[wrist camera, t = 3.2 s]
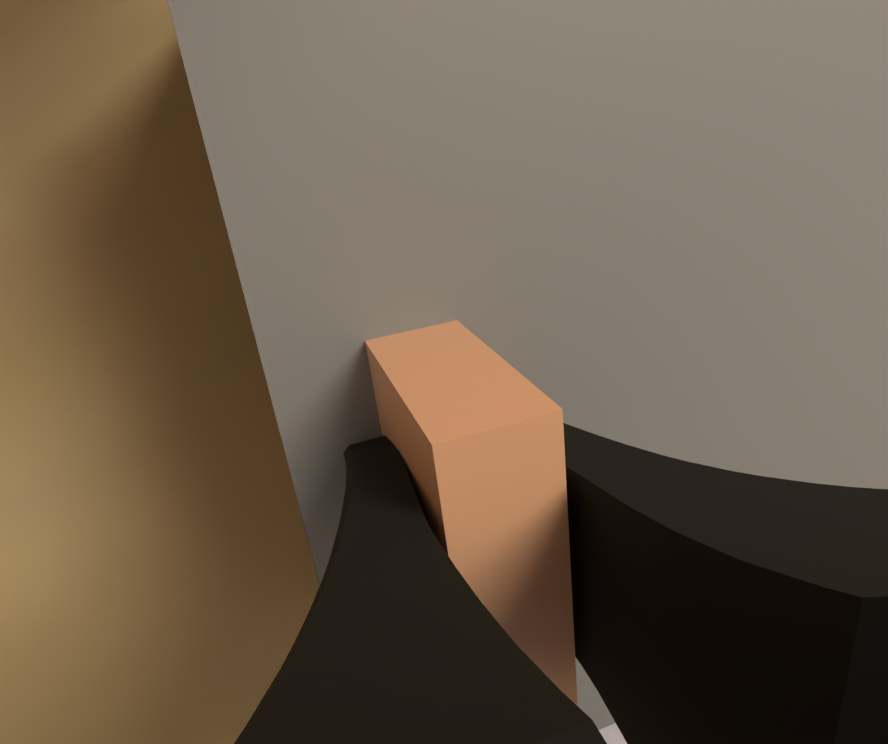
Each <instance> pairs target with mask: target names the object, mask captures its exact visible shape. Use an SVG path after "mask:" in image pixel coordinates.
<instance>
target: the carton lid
mask: <svg viewBox="0 0 888 744" xmlns="http://www.w3.org/2000/svg"><path fill="white" fill-rule="evenodd" d="M167 2H168V6H169V10H170V14H171V18H172V21H173V25H174V29H175V33H176V37H177V41H178V44H179V48H180V52H181V56H182V60H183V64H184V67H185V71H186V75H187V79H188V83H189V87H190V90H191V94H192V98H193V102H194V106H195V110H196V113H197V117H198V121H199V125H200V129H201V133H202V136H203V140H204V144H205V148H206V152H207V156H208V159H209V163H210V167H211V171H212V175H213V179H214V182H215V186H216V190H217V194H218V198H219V202H220V205H221V209H222V213H223V217H224V221H225V225H226V228H227V232H228V236H229V240H230V244H231V248H232V251H233V255H234V259H235V263H236V267H237V271H238V274H239V278H240V282H241V286H242V290H243V294H244V297H245V301H246V305H247V309H248V313H249V317H250V320H251V324H252V328H253V332H254V336H255V340H256V343H257V347H258V351H259V355H260V359H261V363H262V366H263V370H264V374H265V378H266V382H267V386H268V389H269V393H270V397H271V401H272V405H273V409H274V412H275V416H276V420H277V424H278V428H279V432H280V435H281V439H282V443H283V447H284V451H285V455H286V458H287V462H288V466H289V470H290V474H291V478H292V481H293V485H294V489H295V493H296V497H297V501H298V504H299V508H300V512H301V516H302V520H303V524H304V527H305V531H306V535H307V539H308V543H309V547H310V550H311V554H312V558H313V562H314V566H315V570H316V573H317V577H318V581H319V585H320V584H321V582H322V579H323V576H324V573H325V571H326V568H327V565H328V562H329V559H330V555H331V552H332V548H333V544H334V541H335V537H336V533H337V530H338V526H339V522H340V517H341V512H342V506H343V500H344V494H345V486H346V463H345V458H344V454H343V453H344V451H345V450H346V449H347V447H348V446H349V445H351V444H355V443H359V442H362V441H366V440H370V439H374V438H378V437H381V436H386V437H387V438H388V439H389V440H390V441H391V442H392V443H393V444H394V445H395V447H396V448H397V449H398V450H399V452H400V454H401V457H402V459H403V462H404V464H405V467H406V470H407V472H408V475H409V477H410V480H411V483H412V485H413V488H414V490H415V493H416V496H417V498H418V501H419V503H420V506H421V509H422V511H423V514H424V516H425V518H426V520H427V522H428V524H429V526H430V528H431V530H432V532H433V533H434V535H435V537H436V538H437V540H438V541H439V543H440V544H441V546H442V547H443V549H444V550H445V552H446V553H447V555H448V556H449V558H450V559H451V561H452V562H453V564H454V565H455V567H456V568H457V570H458V571H459V572H460V574H461V575H462V576H463V578H464V579H465V581H466V582H467V583H468V585H469V586H470V587H471V589H472V590H473V592H474V593H475V594H476V596H477V597H478V598H479V600H480V601H481V602H482V604H483V605H484V606H485V607H486V608H487V610H488V611H489V612H490V613H491V614H492V616H493V617H494V618H495V619H496V620H497V622H498V623H499V624H500V625H501V627H502V628H503V629H504V630H505V631H506V633H507V634H508V635H509V636H510V637H511V639H512V640H513V641H514V642H515V643H516V644H517V645H518V647H519V648H520V649H521V650H522V651H523V652H524V653H525V654H526V655H527V656H528V657H529V658H530V659H531V660H532V661H533V662H534V663H535V664H536V665H537V666H538V667H539V668H540V669H541V670H542V672H543V673H544V674H545V675H546V676H547V677H548V678H549V679H550V680H551V681H552V682H553V683H554V684H555V685H556V686H557V687H558V688H559V689H560V690H561V691H562V692H563V693H564V694H565V695H566V696H567V697H568V698H569V699H570V700H572V701H573V702H574V703H575V704H576V705H577V706H578V707H579V708H580V709H581V710H582V711H583V712H585V713H586V714H587V715H588V716H589V717H590V718H591V719H592V720H593V722H594V723H595V725H596V727H597V728H598V730H600V729H603V728H605V727H607V726H610V725H612V724H615V721H614V719H613V717H612V716H611V714H610V712H609V710H608V708H607V707H606V705H605V703H604V701H603V699H602V698H601V696H600V694H599V692H598V691H597V689H596V687H595V686H594V684H593V683H592V681H591V680H590V678H589V676H588V675H587V673H586V672H585V670H584V669H583V667H582V666H581V664H580V663H579V661H578V660H577V658H576V657H575V641H574V622H573V602H572V583H571V563H570V543H569V524H568V504H567V484H566V465H565V445H564V426H563V423H565V424H568V425H571V426H573V427H576V428H579V429H582V430H585V431H587V432H590V433H593V434H596V435H599V436H602V437H605V438H608V439H611V440H614V441H617V442H620V443H623V444H626V445H630V446H633V447H636V448H640V449H643V450H647V451H650V452H653V453H657V454H660V455H664V456H668V457H672V458H676V459H680V460H683V461H688V462H692V463H697V464H702V465H706V466H711V467H716V468H720V469H725V470H730V471H735V472H741V473H747V474H752V475H758V476H765V477H772V478H779V479H787V480H794V481H801V482H808V483H817V484H827V485H837V486H847V487H859V488H874V489H888V0H167Z"/></svg>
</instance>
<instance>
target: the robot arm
mask: <svg viewBox="0 0 888 744" xmlns="http://www.w3.org/2000/svg"><path fill="white" fill-rule="evenodd" d="M563 426H564V445H565V465H566V484H567V504H568V524H569V543H570V563H571V583H572V602H573V622H574V641H575V657H576V658H577V660H578V661H579V663H580V664H581V666H582V667H583V669H584V670H585V672H586V673H587V675H588V676H589V678H590V680H591V681H592V683H593V684H594V686H595V687H596V689H597V691H598V692H599V694H600V696H601V698H602V699H603V701H604V703H605V705H606V707H607V708H608V710H609V712H610V714H611V716H612V717H613V719H614V721H615V724H612V725H610V726H607V727H605V728H603V729H600V730H598V728H597V727H596V725H595V723H594V722H593V720H592V719H591V718H590V717H589V716H588V715H587V714H586V713H585V712H583V711H582V710H581V709H580V708H579V707H578V706H577V705H576V704H575V703H574V702H573V701H572V700H570V699H569V698H568V697H567V696H566V695H565V694H564V693H563V692H562V691H561V690H560V689H559V688H558V687H557V686H556V685H555V684H554V683H553V682H552V681H551V680H550V679H549V678H548V677H547V676H546V675H545V674H544V673H543V672H542V670H541V669H540V668H539V667H538V666H537V665H536V664H535V663H534V662H533V661H532V660H531V659H530V658H529V657H528V656H527V655H526V654H525V653H524V652H523V651H522V650H521V649H520V648H519V647H518V645H517V644H516V643H515V642H514V641H513V640H512V639H511V637H510V636H509V635H508V634H507V633H506V631H505V630H504V629H503V628H502V627H501V625H500V624H499V623H498V622H497V620H496V619H495V618H494V617H493V616H492V614H491V613H490V612H489V611H488V610H487V608H486V607H485V606H484V605H483V604H482V602H481V601H480V600H479V598H478V597H477V596H476V594H475V593H474V592H473V590H472V589H471V587H470V586H469V585H468V583H467V582H466V581H465V579H464V578H463V576H462V575H461V574H460V572H459V571H458V570H457V568H456V567H455V565H454V564H453V562H452V561H451V559H450V558H449V556H448V555H447V553H446V552H445V550H444V549H443V547H442V546H441V544H440V543H439V541H438V540H437V538H436V537H435V535H434V533H433V532H432V530H431V528H430V526H429V524H428V522H427V520H426V518H425V516H424V514H423V511H422V509H421V506H420V503H419V501H418V498H417V496H416V493H415V490H414V488H413V485H412V483H411V480H410V477H409V475H408V472H407V470H406V467H405V464H404V462H403V459H402V457H401V454H400V452H399V450H398V449H397V448H396V447H395V445H394V444H393V443H392V442H391V441H390V440H389V439H388V438H387V437H386V436H381V437H378V438H374V439H370V440H366V441H362V442H359V443H355V444H351V445H349V446H348V447H347V449H346V450H345V451H344V453H343V454H344V458H345V463H346V486H345V494H344V500H343V506H342V512H341V517H340V522H339V526H338V530H337V533H336V537H335V541H334V544H333V548H332V552H331V555H330V559H329V562H328V565H327V568H326V571H325V573H324V576H323V579H322V582H321V584H320V587H319V589H318V592H317V594H316V597H315V599H314V602H313V604H312V606H311V609H310V611H309V613H308V615H307V617H306V619H305V622H304V624H303V626H302V628H301V630H300V632H299V634H298V636H297V638H296V641H295V643H294V645H293V647H292V648H291V650H290V652H289V654H288V656H287V658H286V660H285V662H284V664H283V665H282V667H281V669H280V671H279V672H278V674H277V676H276V677H275V679H274V681H273V682H272V684H271V686H270V687H269V689H268V690H267V692H266V694H265V695H264V697H263V699H262V700H261V702H260V704H259V705H258V707H257V709H256V710H255V712H254V714H253V715H252V717H251V718H250V720H249V722H248V723H247V725H246V727H245V728H244V730H243V731H242V733H241V734H240V736H239V737H238V739H237V740H236V742H235V743H234V744H888V489H874V488H859V487H847V486H837V485H827V484H817V483H808V482H801V481H794V480H787V479H779V478H772V477H765V476H758V475H752V474H747V473H741V472H735V471H730V470H725V469H720V468H716V467H711V466H706V465H702V464H697V463H692V462H688V461H683V460H680V459H676V458H672V457H668V456H664V455H660V454H657V453H653V452H650V451H647V450H643V449H640V448H636V447H633V446H630V445H626V444H623V443H620V442H617V441H614V440H611V439H608V438H605V437H602V436H599V435H596V434H593V433H590V432H587V431H585V430H582V429H579V428H576V427H573V426H571V425H568V424H565V423H563Z"/></svg>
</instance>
